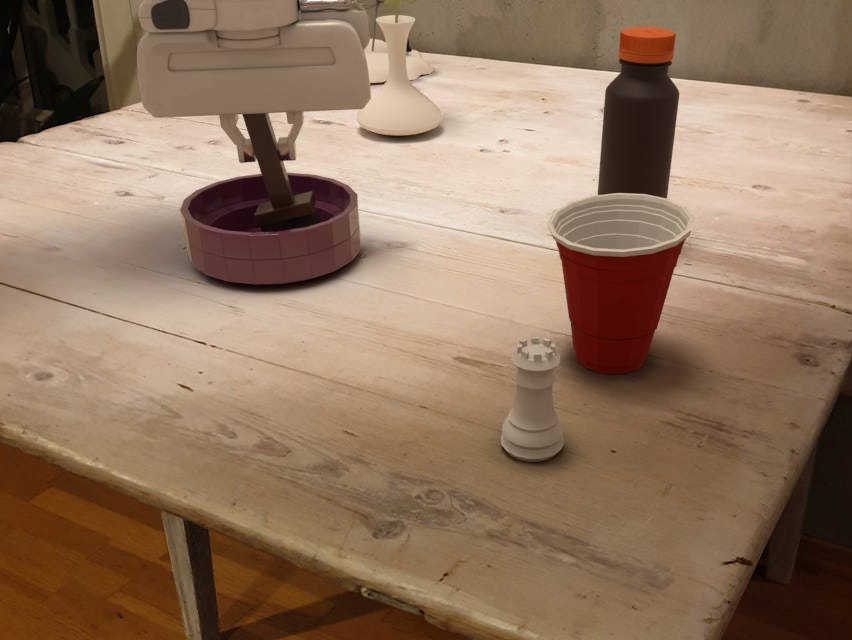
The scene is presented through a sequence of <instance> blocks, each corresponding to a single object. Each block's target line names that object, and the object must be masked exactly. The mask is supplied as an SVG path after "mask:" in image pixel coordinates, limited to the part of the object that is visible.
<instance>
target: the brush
mask: <svg viewBox="0 0 852 640" xmlns="http://www.w3.org/2000/svg"><path fill="white" fill-rule="evenodd" d="M241 115H242V118H243V121H244V124H245V127H246V130H247V131H246V132H247V134H248V137H249V139H250V140H251V143H252V146H253V149H254V152H255V155H256V158H257V159H256V162H257V164H258V167H259V171H260V174H262V177H263V180H264V183H265V186H266V189H267V192H268V195H269V198H270V201H269V202H265V203H261V204H259V206H258V208H257V210H256V212H255V214H254V217H255V220H256V223H257V226H258V227H260V228H261V230H262V232H279V231H285V230H292V229H298V228H305V227H308V226H312V225H315V224H318V223H320V222H319V219H318V215H317V212H316V209H315V204H316V201H315V198H314V194H313V191H311V192H306V193H302V194H298V195H294V194H293V191H292V188H291V185H290V182H289V178H288V175H287V173H288V172H287V169H286V166H285V161H281V160H280V157H279V154H280V151H279V150H278V140H277V136H276V134H275V130H274V127H273V124H272V120H271V118H270V113H260V114H241Z"/></svg>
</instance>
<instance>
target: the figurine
mask: <svg viewBox="0 0 852 640" xmlns="http://www.w3.org/2000/svg"><path fill="white" fill-rule="evenodd" d="M353 1H354V2H357V3H359V2H358V0H353ZM384 2H385V0H375V3H359V4H360V5H362V6H363V7H365V10H366V9H368V7H369V9H371V8H374V7H375V9H374V10H375V11H374V20H373V31H372V38H371V37H370V42H369V44H368V46H367V48H366V49H365V50H364V51H365V55H366V60H367V65H368V71H369V78H370V84H375V83H377V84H378V83H385V82H386V81H387V78H388V74H389V59H388V50H387V44H386V41H383V40H382V39H377V38H376V30H377V22H376V18H378V10H379V9H378V8H379V7H380V6H381V4H384ZM406 70H407V75H408V78H409V80H410V81H414V80H415V81H416V80H417V79H419V77H420V76H421V75H430V74H432V73H433V72H434V69H433V67H432V65H431V64H430V63H429V62H428V61H427V60H425V59H424V58H423V55H422V53H421V52H419V50H416V49H413V48H412V47H411V46H410V40H409V38H408V39H407V46H406Z"/></svg>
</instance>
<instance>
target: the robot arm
mask: <svg viewBox="0 0 852 640" xmlns="http://www.w3.org/2000/svg"><path fill="white" fill-rule="evenodd" d="M360 4H361V3H359V2H358V3H357V2H354V0H143V1H142V2H141V3H140V5H139V6H138V10H137V16H138V21H139V24H140V27H141V28H142V29H143V31H145V33H144V34H143V36H142V37H141V39H140V40H139V42H138V45H137V51H136V65H137V66H136V67H137V80H138V87H139V94H140V100H141V104H142V107H143V108H144V109H145V111H146V112H147V113H148V114H149V115H150V116H152V117H153V118H154V119H155V118H156V119H164V118H186V117H207V116H208V117H210V116H218V117H219V123H220V127H221V129H222V130H223V131H224V133H225V134H226V135H227V137H228V138H229V139H230V141H232V143H233V144H234V145H235V146H236V150H237V151H236V152H237V156H238V162H239V163H240V164H245V163H256V162H257V158H256V155H255V152H254V149H253V146H252V143H251V140H250V138H246V137H245V135H244V134H243V133H242V132H241V130H240V129H239V128H238V126H237V124H238V122H239V119H240V118H239V115H242V114H260V113H268V114H279V113H280V114H281V113H286V121H287V124H288V125H291V127H290V130H289V132H288V134H287V136H282V137H278V140H277V143H278V150H279V151H280V154H279V157H280V160H281V161H283V162H290V161H291V162H292V161H297V145H296V141H297V138H298V136H299V134H300V132H301V130H302V127H303V125H304V122H305V121H304V120H305V113H306V112H307V113H308V112H326V111H328V112H329V111H348V110H349V111H350V110H353V111H354V110H355V111H356V110H359V109H363V108H365V106H366V105H367V104H368V102H369V101H370V99H371V97H372V88H371V83H370V78H369V71H368V65H367V60H366V55H365V51H364V50H365V49H366V48H367V46H368V44H369V42H370V39H371V22H370V17H369V13H368V11H367V10H366V8H365V6H362V5H360ZM352 8H355V9H352ZM304 112H305V113H304Z"/></svg>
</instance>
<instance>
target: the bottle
mask: <svg viewBox="0 0 852 640" xmlns="http://www.w3.org/2000/svg"><path fill="white" fill-rule="evenodd" d="M619 33H620V34H619V44H618V45H619V46H618V58H619V59H618V63H619V64H620V73H619V74H618V75H616V77H615V78H613V80H612V81H611V82H610V83H609V84H608V85H606V88H605V92H604V103H603V116H602V117H603V119H602V131H601V142H600V143H601V146H600V157H599V171H598V183H597V194H596V196H597V195H605V194H614V193H629V194H647V195H652V196H657V197H661V198H666V199H668V196H669V195H668V193H669V187H670V186H669V185H670V177H671V168H672V161H673V151H674V143H675V136H676V135H675V134H676V127H677V119H678V110H679V101H680V91H679V89H678V87H677V85H676V84H675V83H674V81H673V80H672V79H671V77H670V76H669V67H670V66H671V65H672V64H673V61H672V60H673V59H674V55H675V44H676V35H677V33H676V32H675V31H674V30H671V29H669V28H665V27H659V26H631V27H630V26H629V27H626V28H623V29H621V30H620V32H619Z"/></svg>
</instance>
